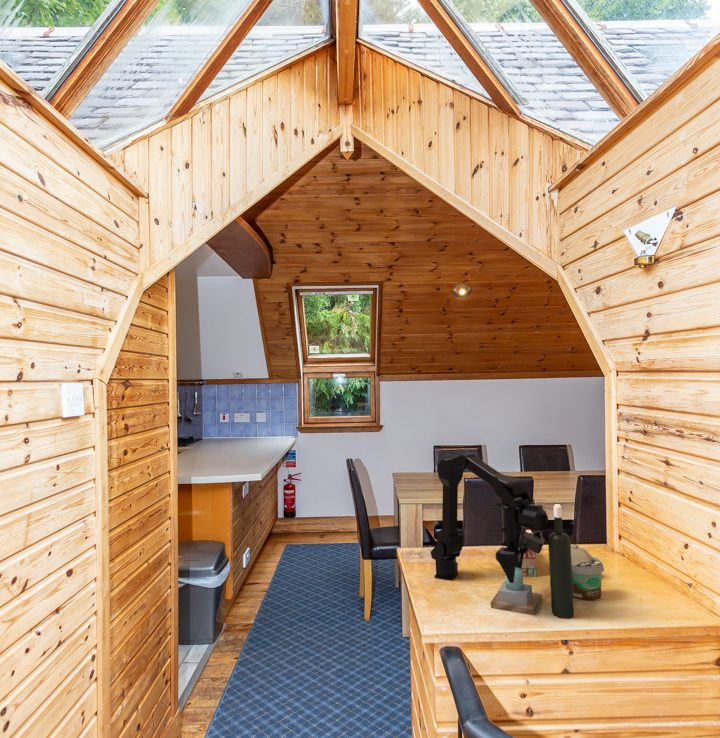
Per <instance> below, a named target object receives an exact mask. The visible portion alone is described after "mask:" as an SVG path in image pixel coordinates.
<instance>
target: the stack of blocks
mask: <svg viewBox="0 0 720 738" xmlns="http://www.w3.org/2000/svg"><path fill="white" fill-rule="evenodd" d="M526 532H528V533H532V534H533V532H532V530H531V529H526ZM521 569H522V570H523V578H527V577H528V578H529V577H530V578H537V577H538V567H537V553H535V552H534V551H532V550H530V549H529V550H528V551H527V552H526V553H525V554H524V557H523V562H522V567H521Z"/></svg>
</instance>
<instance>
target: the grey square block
mask: <svg viewBox="0 0 720 738" xmlns="http://www.w3.org/2000/svg"><path fill="white" fill-rule="evenodd" d="M523 584H524V589H523V590H521V591H512V590H509V589H507V588H506V580H504V581H503V583H502V584H501V585H500V587H499V589H498V590H497V593H498V601H501V602H507V603H513V604H520V605H526V606H527V605H528V603H529V601H530V599H531V597H532V592H533V585H532V584H527V583H523Z"/></svg>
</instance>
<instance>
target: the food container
mask: <svg viewBox="0 0 720 738" xmlns="http://www.w3.org/2000/svg"><path fill="white" fill-rule="evenodd" d="M593 558H594V561H591V562H582V563H580V564H578V565H575V566H573V565H572V583H573V600H574V599H575V600H579V601H586V602H593V601H598V600H600V599H601V598H602V576H603V575H602V574H603V572H604V571H605V569H604V568H605V567H604V565H603V562H602V560H600V559H599V558H597V557H595V556H593Z"/></svg>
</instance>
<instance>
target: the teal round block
mask: <svg viewBox="0 0 720 738" xmlns="http://www.w3.org/2000/svg"><path fill="white" fill-rule="evenodd" d="M504 574H505V573H504ZM504 580H505V581H506V588H507V589H509V590H512V591H521V590H523V589H524V584H525V583H524V577H523V570H522V569H521V568H517V567H516V568H515V577H514V583H510V582H509V581H508V579H507V576H506V574H505V577H504Z"/></svg>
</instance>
